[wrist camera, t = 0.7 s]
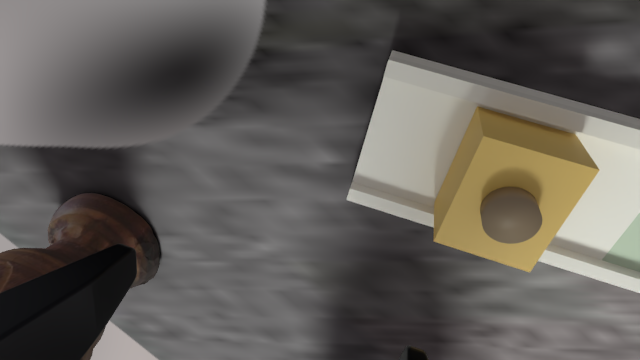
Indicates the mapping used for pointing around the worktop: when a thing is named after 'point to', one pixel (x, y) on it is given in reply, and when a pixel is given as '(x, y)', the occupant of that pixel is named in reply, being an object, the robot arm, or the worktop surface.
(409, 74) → the rail
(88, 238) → the mortar and pestle
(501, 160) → the carriage
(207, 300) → the worktop surface
